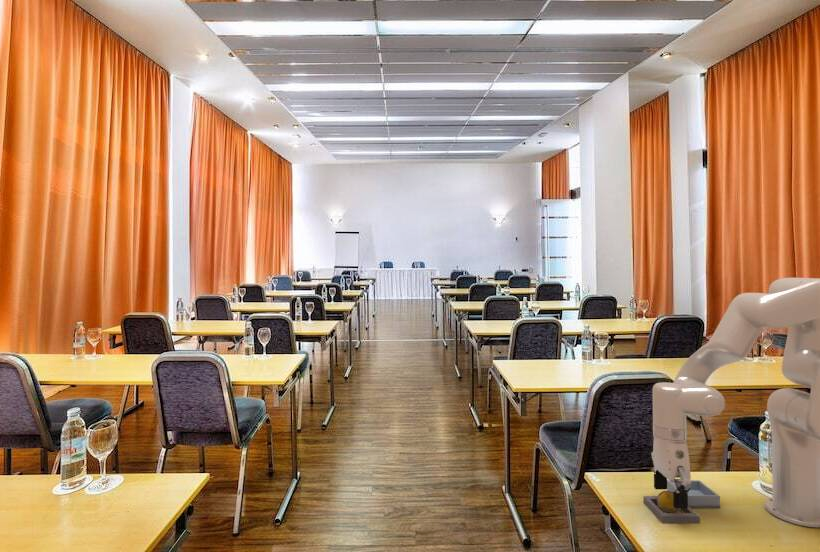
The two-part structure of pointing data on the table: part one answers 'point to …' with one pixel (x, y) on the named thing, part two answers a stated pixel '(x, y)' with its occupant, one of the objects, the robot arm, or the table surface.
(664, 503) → the grooved yellow cone
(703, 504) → the parts tray
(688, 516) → the holder panel
